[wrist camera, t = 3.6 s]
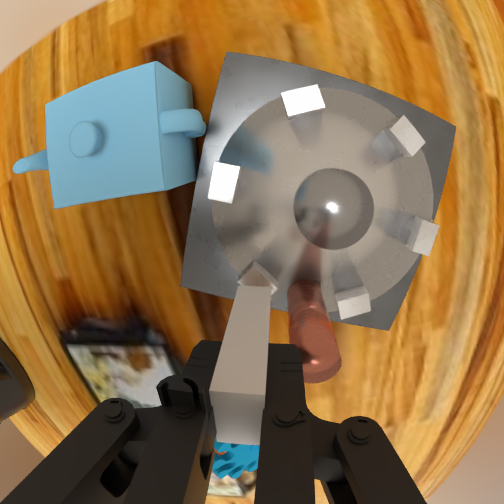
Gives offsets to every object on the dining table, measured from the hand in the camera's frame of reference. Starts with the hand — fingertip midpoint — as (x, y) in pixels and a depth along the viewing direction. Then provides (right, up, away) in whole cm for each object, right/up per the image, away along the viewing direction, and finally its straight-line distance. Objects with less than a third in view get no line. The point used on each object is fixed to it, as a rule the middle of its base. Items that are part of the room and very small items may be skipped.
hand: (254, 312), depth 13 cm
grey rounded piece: (+4, +6, +2) cm, 7 cm away
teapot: (-8, +10, +4) cm, 14 cm away
